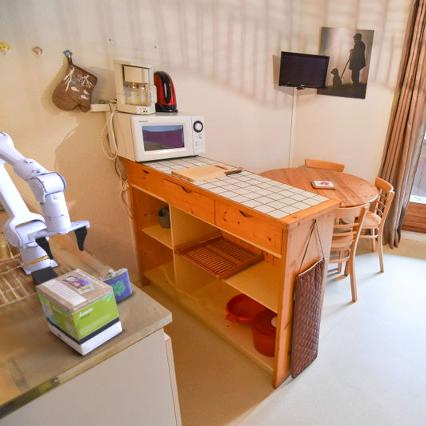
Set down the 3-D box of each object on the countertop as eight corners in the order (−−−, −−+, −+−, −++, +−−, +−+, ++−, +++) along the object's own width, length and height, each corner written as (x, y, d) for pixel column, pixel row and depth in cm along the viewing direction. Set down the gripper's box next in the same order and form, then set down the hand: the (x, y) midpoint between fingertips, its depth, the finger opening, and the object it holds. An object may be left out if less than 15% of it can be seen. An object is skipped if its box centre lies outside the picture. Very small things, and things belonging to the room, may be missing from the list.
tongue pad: (33, 281, 99) (30, 272, 98) (53, 275, 103) (50, 265, 102) (44, 299, 92) (41, 289, 91) (65, 291, 96) (63, 282, 95)
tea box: (48, 332, 81) (33, 285, 75) (90, 310, 90) (79, 266, 84) (82, 357, 75) (68, 307, 69) (124, 331, 83) (114, 285, 78)
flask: (129, 291, 98) (123, 261, 94) (134, 294, 97) (129, 265, 93) (97, 306, 91) (89, 275, 87) (102, 311, 90) (94, 279, 86)
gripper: (27, 225, 85) (40, 268, 90) (89, 211, 96) (98, 250, 101) (20, 217, 89) (33, 259, 94) (81, 205, 100) (90, 243, 105)
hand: (66, 254), depth 98 cm, fingers open, 7 cm apart
